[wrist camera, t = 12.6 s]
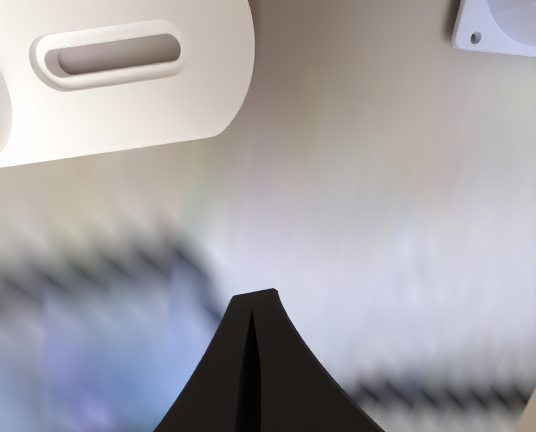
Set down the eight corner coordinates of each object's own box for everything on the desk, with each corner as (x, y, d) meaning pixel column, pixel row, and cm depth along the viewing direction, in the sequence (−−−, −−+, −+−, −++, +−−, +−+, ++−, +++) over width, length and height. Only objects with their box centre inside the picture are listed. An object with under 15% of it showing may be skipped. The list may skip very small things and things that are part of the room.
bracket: (-84, 167, 18) (-235, 233, 12) (-229, -23, 13) (-580, -59, 8) (263, 118, 18) (274, 160, 12) (237, -88, 13) (236, -172, 8)
